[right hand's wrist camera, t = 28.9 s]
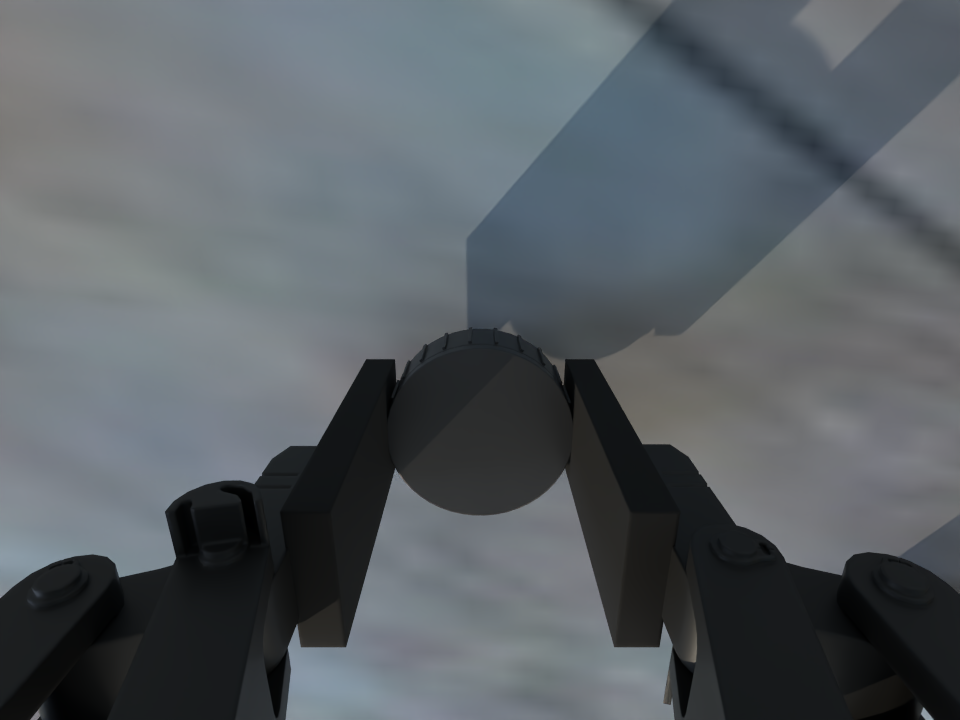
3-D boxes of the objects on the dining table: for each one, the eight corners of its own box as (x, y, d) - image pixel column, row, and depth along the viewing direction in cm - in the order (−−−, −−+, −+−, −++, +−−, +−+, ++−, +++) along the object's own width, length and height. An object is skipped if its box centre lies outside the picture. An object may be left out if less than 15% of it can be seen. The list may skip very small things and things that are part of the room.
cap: (442, 506, 16) (438, 542, 14) (361, 371, 14) (346, 396, 13) (592, 445, 15) (604, 476, 13) (523, 296, 13) (529, 312, 12)
